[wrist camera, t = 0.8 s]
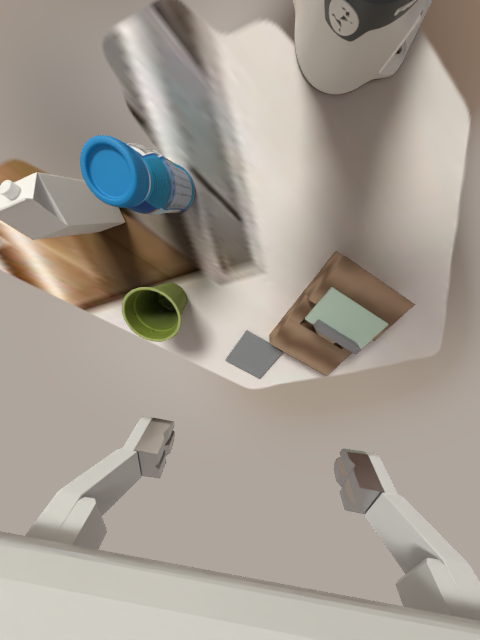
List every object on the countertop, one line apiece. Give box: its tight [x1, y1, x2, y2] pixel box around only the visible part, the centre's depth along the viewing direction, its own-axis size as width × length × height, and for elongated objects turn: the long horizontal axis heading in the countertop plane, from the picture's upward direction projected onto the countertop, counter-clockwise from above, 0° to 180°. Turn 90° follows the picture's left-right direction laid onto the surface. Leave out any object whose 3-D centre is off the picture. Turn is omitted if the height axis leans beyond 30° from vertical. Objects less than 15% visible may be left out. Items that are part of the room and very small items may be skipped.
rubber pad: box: [226, 331, 283, 379], centre depth 57 cm, size 11×11×1 cm
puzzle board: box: [269, 252, 415, 376], centre depth 47 cm, size 24×17×6 cm
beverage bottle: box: [80, 135, 195, 215], centre depth 32 cm, size 8×8×20 cm
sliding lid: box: [305, 287, 389, 354], centre depth 42 cm, size 8×14×3 cm, turn 59°
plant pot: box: [122, 283, 186, 342], centre depth 47 cm, size 12×12×11 cm
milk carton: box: [0, 172, 125, 240], centre depth 36 cm, size 7×7×19 cm
